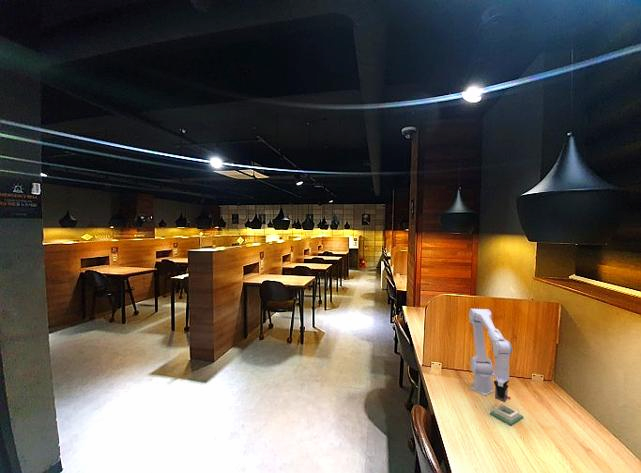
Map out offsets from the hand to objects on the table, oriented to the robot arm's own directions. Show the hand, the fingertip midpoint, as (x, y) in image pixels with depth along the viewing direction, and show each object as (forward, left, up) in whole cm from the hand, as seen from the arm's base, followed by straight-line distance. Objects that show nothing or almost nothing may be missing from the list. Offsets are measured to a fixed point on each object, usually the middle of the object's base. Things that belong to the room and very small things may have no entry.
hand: (501, 395), depth 130 cm
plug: (0, 0, -2) cm, 2 cm away
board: (0, +2, -9) cm, 9 cm away
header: (0, +2, -9) cm, 9 cm away
